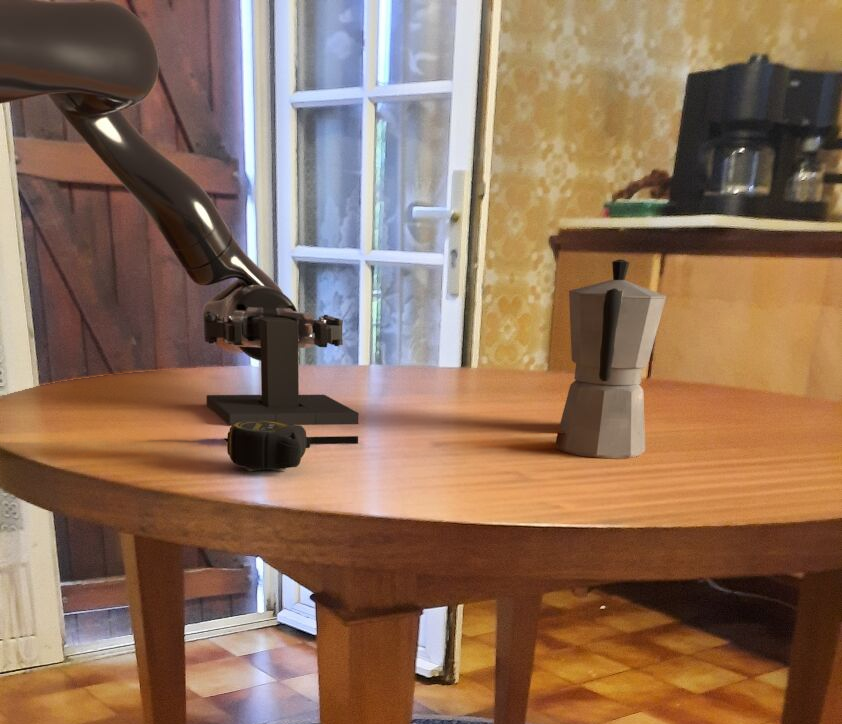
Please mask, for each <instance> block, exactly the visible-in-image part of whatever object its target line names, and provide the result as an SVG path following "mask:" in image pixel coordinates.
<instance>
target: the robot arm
mask: <svg viewBox="0 0 842 724" xmlns="http://www.w3.org/2000/svg"><path fill="white" fill-rule="evenodd" d="M157 49H158V48H157V46H156V43H155V41H154V38H153V36H152V34H151V33H150V31H149V30H148V28H147V26H146V25H145V24H144V22H143V21H142V20H141V19H140V18H139V17H138V15H136V14H135V13H133V11H132V10H130V9H129V8H127V7H126V6H124V5H122V4H120V3H117V2H115V1H111V0H88V1H87V0H86V1H47V0H0V105H1V104H7V103H12V102H19V101H23V100H27V99H32V98H36V97H42V96H46V95H47V98H49V100H50V101H51V103H52V104H53V105H54V107H55V108H56V109H57V110H58V112H59V113H60V114H61V115H62V116H63V118H64V119H65V120H66V121H67V122H68V123H69V125H70V126H71V127H72V128H73V129H74V130H75V132H76V133H77V134H78V136H80V137H81V138H82V139H83V140H84V142H85V143H86V144H87V145H88V147H90V149H91V150H92V151H93V152H94V153H95V154H96V155H97V157H98V158H99V159H100V160H101V161H102V162H103V164H104V165H105V166H106V167H107V168H108V169H109V170H110V172H111V173H112V174H113V175H114V176H115V178H116V179H117V180H118V181H119V182H120V183H121V184H122V185H123V186H124V188H125V189H126V190H127V191H128V192H129V193H130V194H131V196H132V197H133V198H134V199H135V201H136V202H137V203H138V204H139V205H140V206H141V208H142V209H143V210H144V211H145V213H146V214H147V215H148V217H149V219H150V220H151V221H152V223H153V224H154V225H155V227H156V229H157V230H158V231H159V233H160V234H161V236H162V237H163V239H164V240H165V242H166V244H167V246H168V247H169V249H170V250H171V252H172V253H173V255H174V256H175V257H176V260H177V261H178V262H179V264H180V265H181V267H182V269H183V270H184V272H185V273H186V275H187V276H188V277H189V278H190V280H191V281H192V282H193V283H195V284H196V285H199V286H203V287H205V286H212V285H215V284H218V283H221V282H224V281H227V280H230V279H235V280H234V281H233V282H231V283H230V284H228V285H227V286H225V287H224V288H222V289H221V290H220V291H219V292H217V293H215V294H214V295H213V296H211V297H210V298H209V299H207V300H206V302H205V304H204V305H203V307H202V311H201V317H202V323H203V338H204V339H203V340H204V342H205V343H208V344H215V345H217V347H219V348H220V349H222V350H224V351H225V352H227V353H229V354H234V355H240V354H242V353H244V354H245V355H247V356H248V357H249V358H251V359H253V360H256V361H260V362H261V343H260V319H291V320H293V321H296V322H298V349H309V348H312V347H313V346H317V347H319V348H328V344H330V345H332V346H334V347H340V346H343V344H344V343H343V342H344V341H343V325H344V320H343V319H340V317H334V316H331V315H329V314H323V315H321V316H318V318H314V317H313V314H312V313H311V312H303V311H298V309H297V308H296V306H295V304H294V303H293V302H292V300H291V299H290V298H289V297H288V296H287V295H286V294H284V292H283V291H282V289H281V287H280V286H279V285H278V284H277V283H276V282H275V281H274V279H273V278H272V277H270V276H269V275H268V274H267V273H266V272H265V271H264V270H263V269H261V267H259V266H258V265H257V264H256V263H255V262H254V261H253V260H252V259H251V258H250V257H249V256H248V255H247V253H246V252H245V251H244V250H243V249H242V247H241V246H240V245H239V243H238V241H237V240H236V239H235V237H234V235H233V234H232V233H231V230H230V229H229V226H228V225H227V224H226V222H225V221H224V219H223V217H222V215H221V214H220V212H219V210H218V209H217V207H216V205H215V204H214V203H215V202H213V200H212V199H211V197H210V196H209V195H208V194H207V192H206V191H205V190H204V189H203V187H201V186H200V184H199V183H197V181H195V179H193V178H192V177H191V176H190V175H189V174H188V173H187V172H185V171H184V170H183V169H182V168H180V167H179V166H178V165H177V164H175V163H174V162H173V161H171V160H170V159H169V158H168V157H166V156H165V155H163V154H162V153H161V152H160V151H159V150H158V149H157V148H155V147H154V146H153V145H152V144H150V142H149V141H148V140H147V139H146V138H145V137H144V136H143V135H142V134H141V133H139V132H138V130H137V129H136V128H135V127H134V126H133V124H132V123H131V122H130V121H129V119H128V118H127V117H126V115H125V114H124V112H123V111H124V110H127V109H130V108H132V107H135V106H137V105H138V104H140V103H142V102H143V101H144V100H146V99H147V98H148V96H149V95H150V94H151V93H152V91H153V89H154V88H155V85H156V83H157V80H158V76H159V70H160V69H159V68H160V67H159V66H160V59H159V53H158V50H157ZM313 335H314V337H313Z"/></svg>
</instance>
